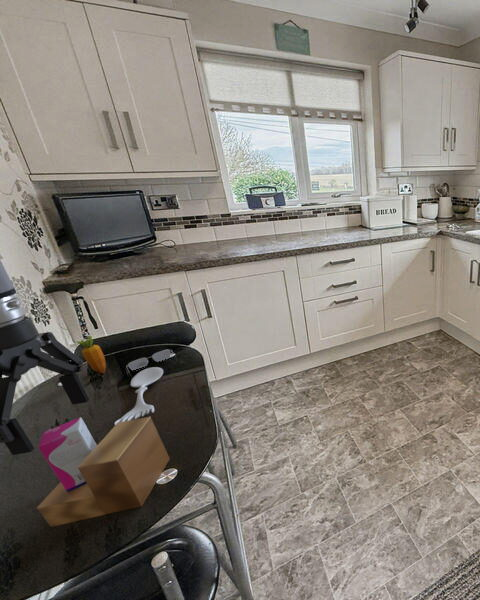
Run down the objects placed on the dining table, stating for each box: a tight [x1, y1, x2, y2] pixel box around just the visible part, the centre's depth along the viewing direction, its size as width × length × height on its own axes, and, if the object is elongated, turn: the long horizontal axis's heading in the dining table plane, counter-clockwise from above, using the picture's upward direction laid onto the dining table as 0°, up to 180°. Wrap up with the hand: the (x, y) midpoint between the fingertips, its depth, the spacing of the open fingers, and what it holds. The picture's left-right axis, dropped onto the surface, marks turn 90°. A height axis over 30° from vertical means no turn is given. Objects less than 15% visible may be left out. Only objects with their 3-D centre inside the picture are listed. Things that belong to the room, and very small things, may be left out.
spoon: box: [114, 366, 164, 426], centre depth 100 cm, size 9×32×4 cm, turn 32°
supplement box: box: [37, 416, 98, 492], centre depth 64 cm, size 6×6×12 cm
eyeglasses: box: [125, 349, 178, 378], centre depth 117 cm, size 14×8×4 cm, turn 136°
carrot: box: [76, 335, 107, 375], centre depth 115 cm, size 5×5×15 cm
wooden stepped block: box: [36, 416, 171, 528], centre depth 67 cm, size 16×12×12 cm
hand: (55, 424), depth 62 cm, fingers open, 13 cm apart
